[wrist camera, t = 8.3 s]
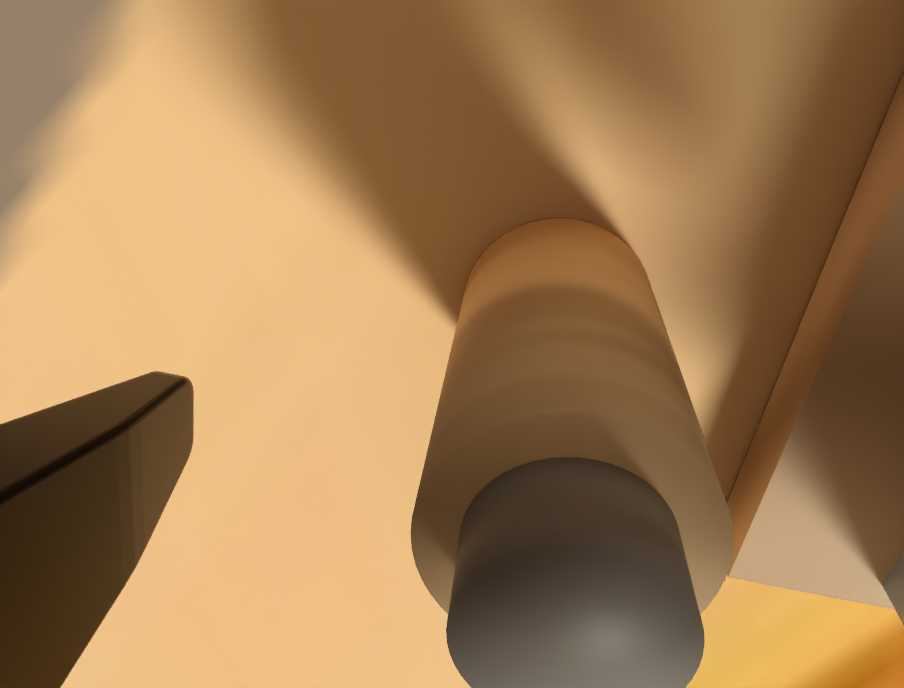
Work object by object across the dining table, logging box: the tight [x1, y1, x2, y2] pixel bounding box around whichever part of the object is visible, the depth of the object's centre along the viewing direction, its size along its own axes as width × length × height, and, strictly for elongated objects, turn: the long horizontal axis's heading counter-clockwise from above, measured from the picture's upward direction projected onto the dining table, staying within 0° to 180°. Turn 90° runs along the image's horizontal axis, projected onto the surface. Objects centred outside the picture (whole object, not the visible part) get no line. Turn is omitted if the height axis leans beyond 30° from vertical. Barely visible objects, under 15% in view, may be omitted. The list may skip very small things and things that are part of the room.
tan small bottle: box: [411, 218, 733, 688], centre depth 10 cm, size 3×3×7 cm
